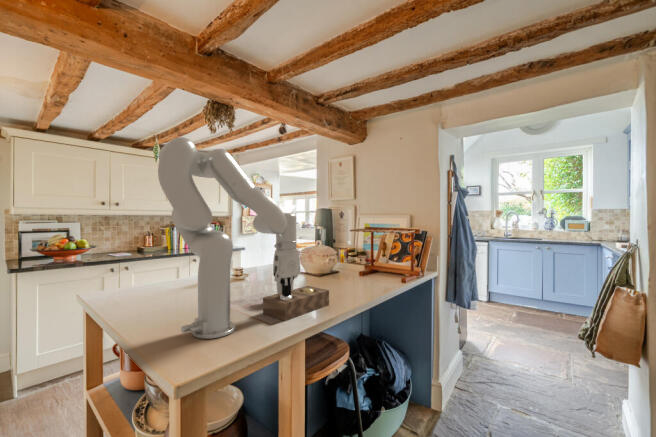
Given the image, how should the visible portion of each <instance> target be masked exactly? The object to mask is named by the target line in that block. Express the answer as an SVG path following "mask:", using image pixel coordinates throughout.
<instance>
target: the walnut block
mask: <svg viewBox="0 0 656 437" xmlns="http://www.w3.org/2000/svg"><path fill="white" fill-rule="evenodd" d="M304 288H313V289H314V292H312V293H309V294H308V293H304V292H303V289H304ZM280 295H282V293H278V294H277V293H276V294H270V295H268V296H264V297H262V314H263V315H265V314H266V316H268V315H269V316H268V317H271V316H272V318H274V317H275V318H274V319H277V318H278V319H277V320H280V319H281V320H280V321H283V322H287V321H289V320H292V319H295V318H297V317H300V316H303V315H306V314H309V313H312V312H314V311H316V310H319V309H322V308H324V307H327V306H329V305H330V289H326V288H320V287H316V286H315V287H314V286H309V285H305V286H301V287H298V288H293V290H291V295H292V299H288V300H283V299H280Z"/></svg>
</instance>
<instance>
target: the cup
mask: <svg viewBox="0 0 656 437" xmlns="http://www.w3.org/2000/svg"><path fill="white" fill-rule="evenodd" d="M275 283H276V294H278V293H282V285H281V284H280V282H276V281H275ZM294 283H295V279H294V280H293V282H292V285H291V290H294Z"/></svg>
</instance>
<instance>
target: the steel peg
mask: <svg viewBox="0 0 656 437" xmlns="http://www.w3.org/2000/svg"><path fill="white" fill-rule="evenodd" d="M280 299H283V300H288V299H292V295H290V296H284V295H280Z"/></svg>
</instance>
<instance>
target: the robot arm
mask: <svg viewBox="0 0 656 437" xmlns="http://www.w3.org/2000/svg"><path fill="white" fill-rule="evenodd" d="M157 177H158V182H159V184H160V185H159V186H160V187H161V189H162V191H163V193H164V195H165V197H166V198H167V201H168V202H169V204H170V205H171V207H172V211H171V219H172V223H173V225H174V226H175V229H176V230H177V232H178V233H179V235H180V236H181V238H182V239H183V241H184V242H185V244H186V245H187V247H188V248H189V250H190V251H191V252H192V254H194V255H195V256H197V257H198V258H199V262H198V268H197V269H198V270H197V318H194V321H193V322H192V323H191V324H186V325H182V326H181V327H180V331H181V333H182V334H184V333H188V332H189V333H190V334H191V335H192V336H193V337H194V338H198V339H202V340H203V339H204V340H205V339H207V340H208V339H210V340H211V339H217V338H222V337H226V336H228V335H230V334H232V333H234V332H235V330H236V328H237V327H236V326H237V325H236V323H235V322H233V321H231V266H232V259H233V250H234V247H233V246H234V244H233V241H232V239H231V237H230V236H229V235H228V234H227V233H226V232H224V231H222V230H219V229H218V230H217V229H213V228H212V226H211V224H212V221H213V214H212V213H213V212H212V210H211V208H210V207H209V205H208V204H207V202H206V200H205V199H204V197H203V196H202V195H203V194H201V192H200V191H199V189H198V187H197V186H196V183H195V181H194V178H193V177H199V178H205V179H215V181H217V182H218V184H219V185H220V186H221V188H223V190H224V191H225V192H226V193H227V195H228V196H229V197H230V199H231V200H233V201H234V202H236V203H238V204H239V205H242V206H244V207H246V208H248V209H250V210H251V211H252V212H254V213H255V214H256V215H255V217H254V218H253V220H252V225H253V228H254V229H255V230H256V231H257V232H258V233H261V234H270V235H275V244H274V246H273V247H274V248H275V250H274V254H273V261H272V262H273V263H272V275H273V277H274V279H273V281H274V282H275V283H276V282H280V284H281V285H282V295H284V296H290V295H291V285H292V282H293V280H294V281H295V279H297V278H298V276H299V275H300V274H301V260H300V253H299V250H298V248H297V215H296V214H295V213H292V212H284V211H283V210H282V209H281V208H280V206H279V205H278V204H277V203H276V201H275V200H274V199H272V197H271V196H269V195H268V194H267V193H265V192H264V191H263V190H262V189H261V188H259V187H258V186H257V185H255V183H253V182H252V180H251V178H249V177H248V175H247V174H246V173H245V171H244V170H243V169H242V168H241V166H240V165H239V163H238V162H237V161H236V160H235V158H234V157H233V155H231V153H229V151H227V150H225V149H224V148H223V149H222V148H216V149H212V150H209V151H208V152H207V151H206V152H205V151H199V150H198V149H197V147H196V145H195V143H194V142H193V141H192V140H191V139H189V138H187V137H183V136H180V137H179V136H178V137H175V138H173V139H170V140H169V141H167V143H166V144H164V146H162V147H161V148H160V149H159V152H158V166H157Z"/></svg>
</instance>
